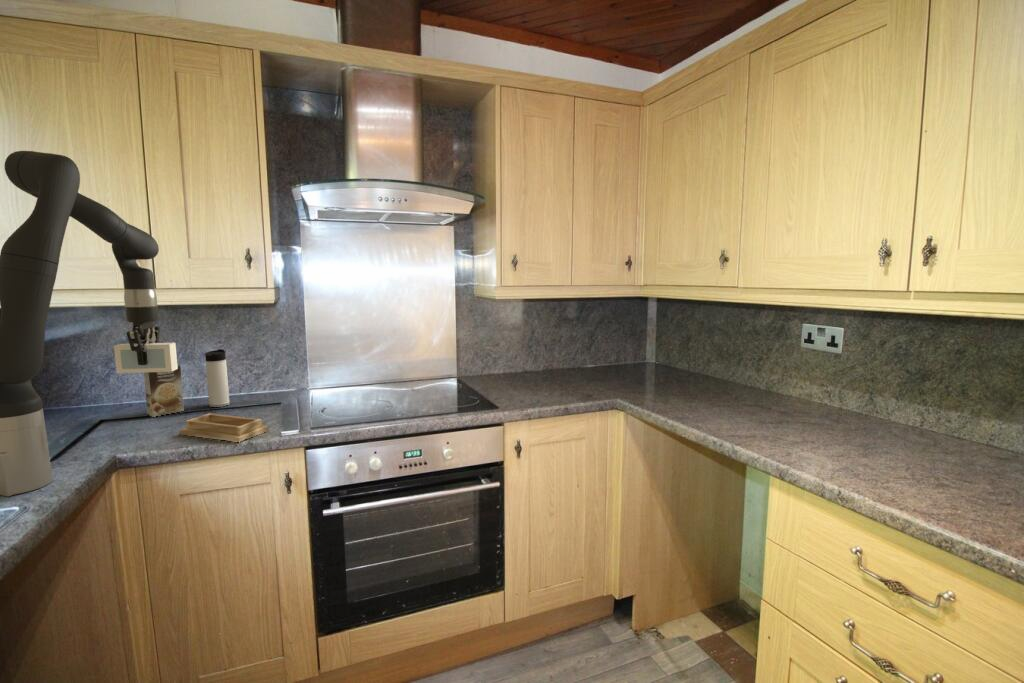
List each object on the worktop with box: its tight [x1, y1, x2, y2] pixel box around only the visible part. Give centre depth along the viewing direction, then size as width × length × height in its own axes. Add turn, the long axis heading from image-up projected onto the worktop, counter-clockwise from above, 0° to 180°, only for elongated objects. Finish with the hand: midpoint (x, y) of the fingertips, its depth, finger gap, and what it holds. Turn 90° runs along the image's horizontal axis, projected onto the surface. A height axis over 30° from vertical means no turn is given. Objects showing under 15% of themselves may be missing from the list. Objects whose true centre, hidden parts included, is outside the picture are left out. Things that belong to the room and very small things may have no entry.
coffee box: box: [143, 364, 185, 418], centre depth 165 cm, size 9×6×16 cm
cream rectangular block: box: [113, 342, 178, 374], centre depth 143 cm, size 4×14×8 cm, turn 103°
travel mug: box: [204, 348, 230, 408], centre depth 174 cm, size 6×7×20 cm
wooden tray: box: [179, 412, 270, 444], centre depth 146 cm, size 11×22×4 cm, turn 73°
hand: (147, 362), depth 143 cm, fingers closed on cream rectangular block, 4 cm apart
